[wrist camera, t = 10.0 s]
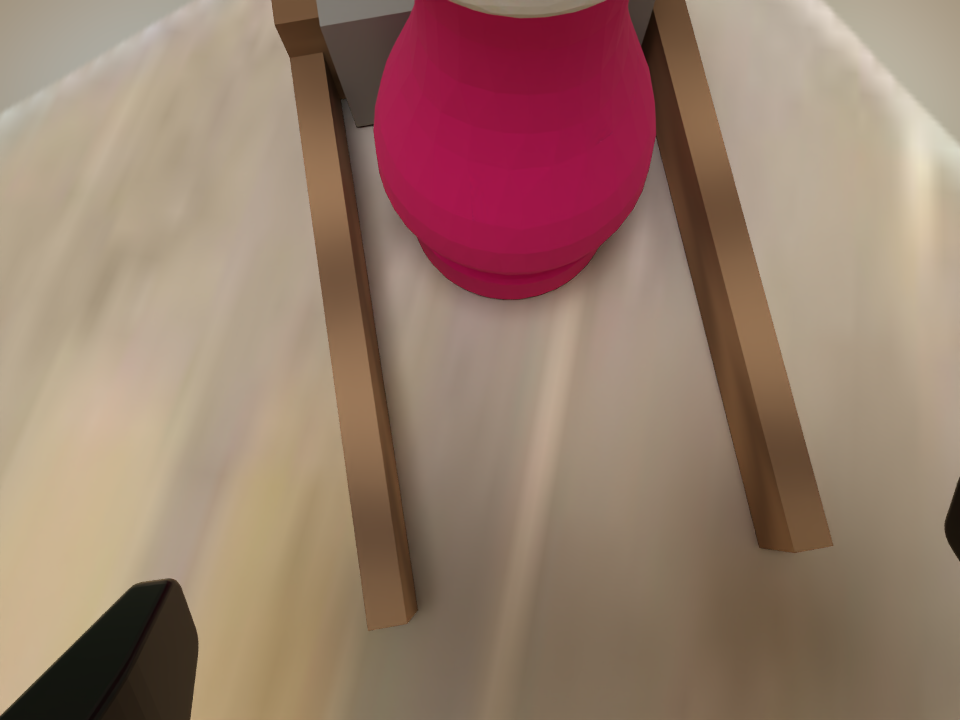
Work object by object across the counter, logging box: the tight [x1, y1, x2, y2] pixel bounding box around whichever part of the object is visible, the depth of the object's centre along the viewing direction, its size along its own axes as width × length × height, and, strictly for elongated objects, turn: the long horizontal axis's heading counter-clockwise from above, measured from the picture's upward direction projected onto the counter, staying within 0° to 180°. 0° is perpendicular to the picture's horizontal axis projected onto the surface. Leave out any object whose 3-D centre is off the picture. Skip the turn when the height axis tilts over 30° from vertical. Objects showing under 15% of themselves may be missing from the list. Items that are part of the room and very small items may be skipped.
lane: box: [271, 0, 833, 631], centre depth 20 cm, size 18×12×4 cm
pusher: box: [316, 0, 655, 127], centre depth 21 cm, size 1×9×5 cm, turn 100°
